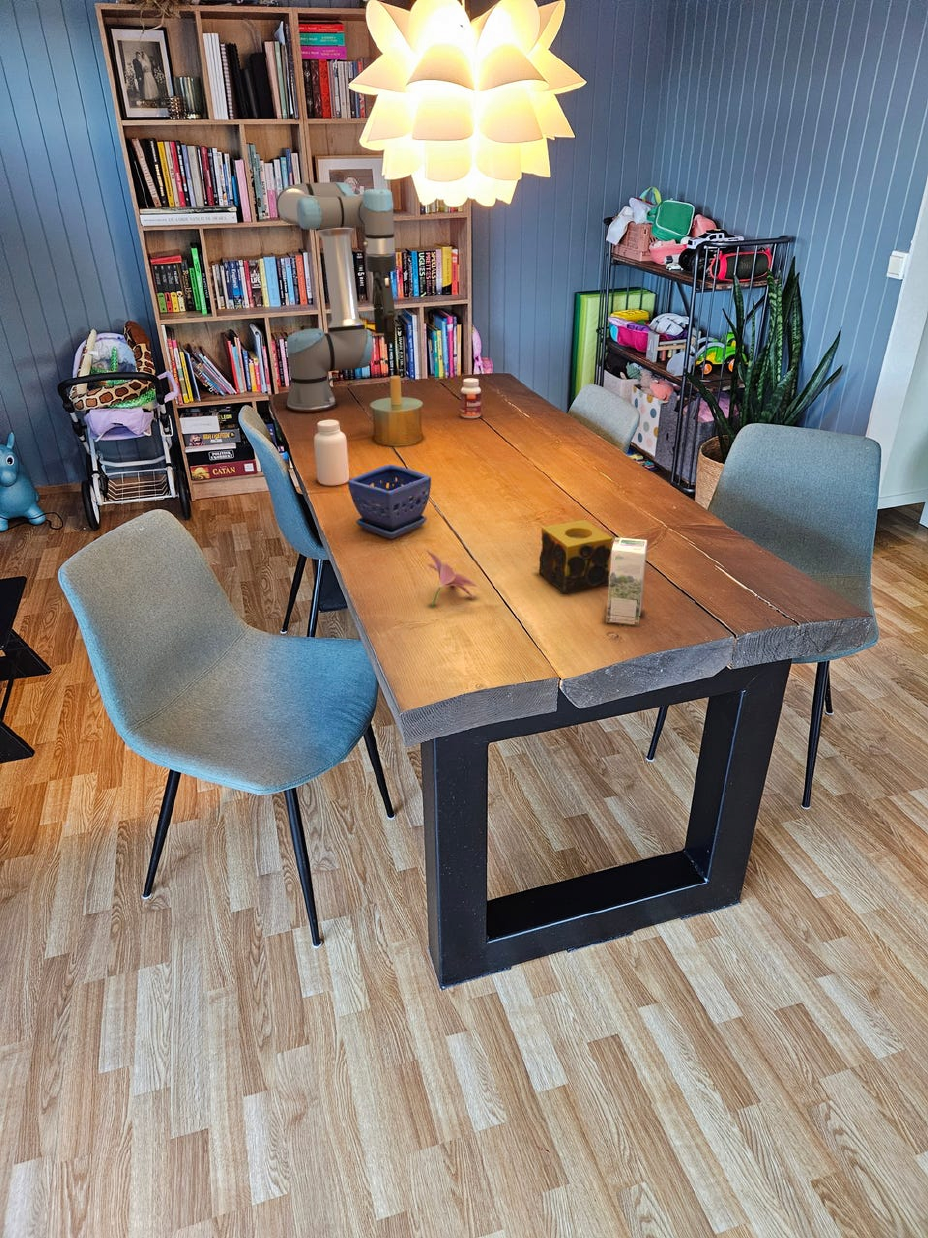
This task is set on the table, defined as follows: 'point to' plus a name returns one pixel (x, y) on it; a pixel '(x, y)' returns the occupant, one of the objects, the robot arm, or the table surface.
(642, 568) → the syrup box
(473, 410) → the pill bottle
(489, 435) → the table surface
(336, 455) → the pill bottle
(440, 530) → the table surface
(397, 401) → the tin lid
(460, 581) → the lily
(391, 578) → the table surface
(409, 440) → the tin
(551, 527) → the candle
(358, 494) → the flower pot
